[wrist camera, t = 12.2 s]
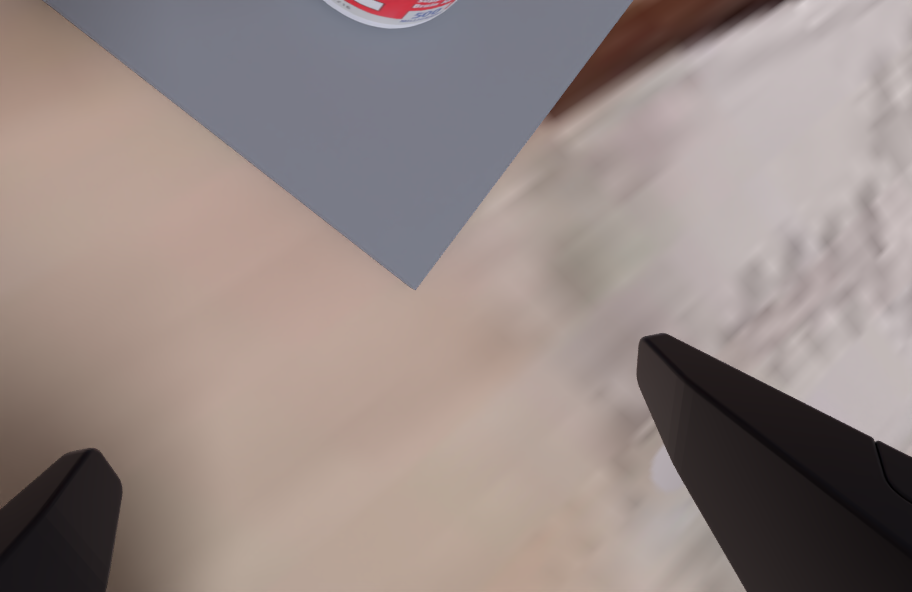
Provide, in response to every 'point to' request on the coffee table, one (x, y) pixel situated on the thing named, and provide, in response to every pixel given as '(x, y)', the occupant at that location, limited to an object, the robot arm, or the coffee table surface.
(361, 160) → the mat
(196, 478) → the coffee table surface
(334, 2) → the pill bottle
